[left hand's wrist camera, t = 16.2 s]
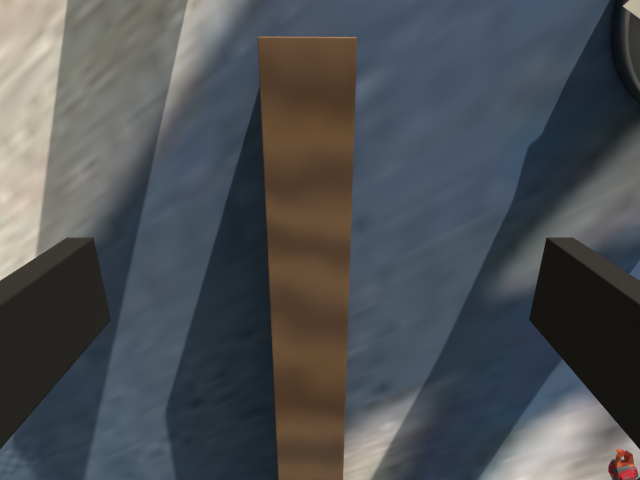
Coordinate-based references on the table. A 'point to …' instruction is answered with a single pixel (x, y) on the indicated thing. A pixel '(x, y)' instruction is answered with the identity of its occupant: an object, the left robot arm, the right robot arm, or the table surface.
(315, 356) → the board
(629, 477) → the toy
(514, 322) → the table surface
